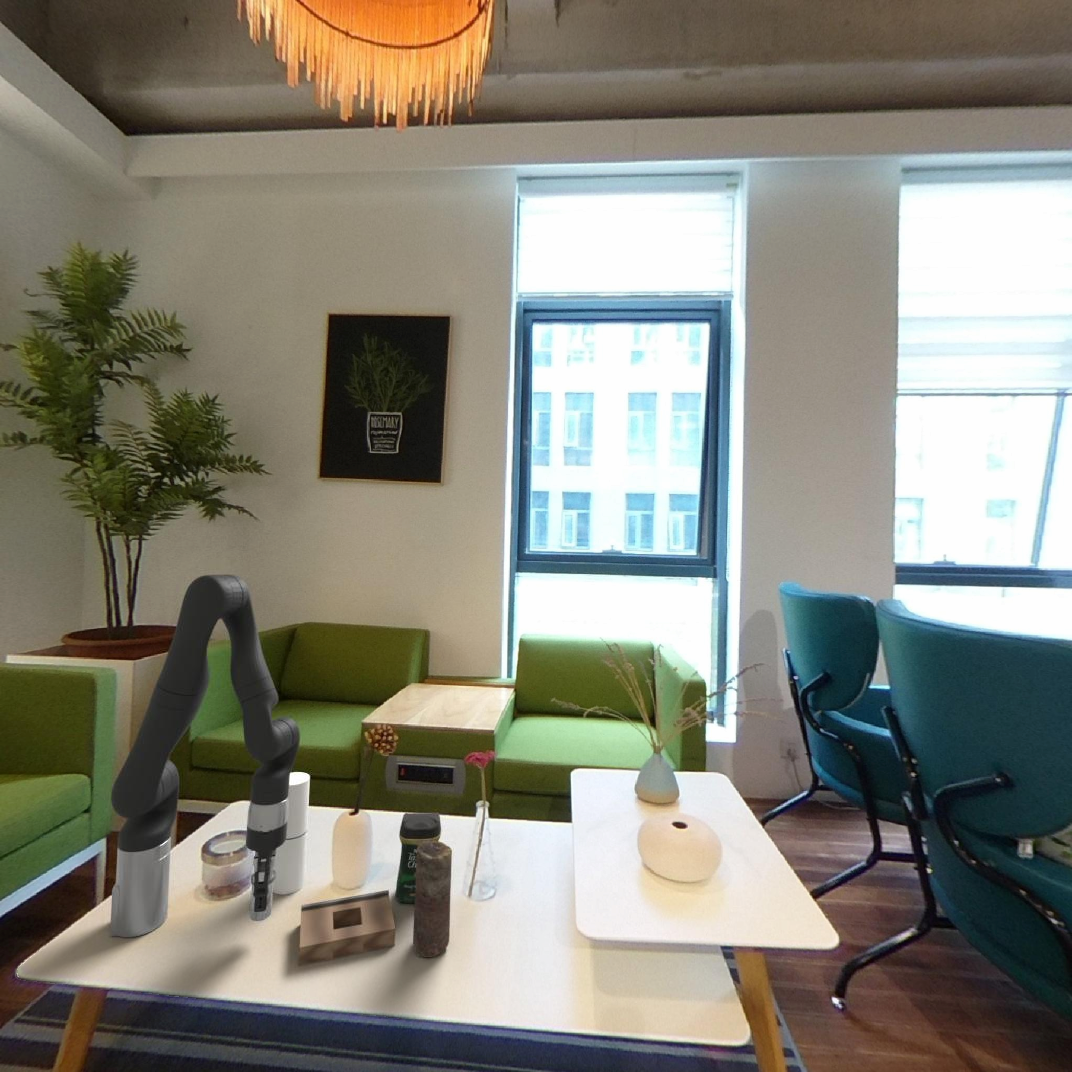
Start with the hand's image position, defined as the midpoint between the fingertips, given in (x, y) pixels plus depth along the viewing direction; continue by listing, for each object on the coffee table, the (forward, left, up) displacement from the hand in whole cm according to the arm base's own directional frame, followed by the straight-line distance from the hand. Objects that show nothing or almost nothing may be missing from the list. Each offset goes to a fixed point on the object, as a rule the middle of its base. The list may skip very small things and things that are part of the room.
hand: (261, 903), depth 116 cm
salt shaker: (0, 0, -2) cm, 2 cm away
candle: (+33, -12, -8) cm, 36 cm away
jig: (+17, -4, -7) cm, 19 cm away
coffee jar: (+33, +5, -8) cm, 34 cm away
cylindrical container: (+5, +17, -8) cm, 19 cm away
